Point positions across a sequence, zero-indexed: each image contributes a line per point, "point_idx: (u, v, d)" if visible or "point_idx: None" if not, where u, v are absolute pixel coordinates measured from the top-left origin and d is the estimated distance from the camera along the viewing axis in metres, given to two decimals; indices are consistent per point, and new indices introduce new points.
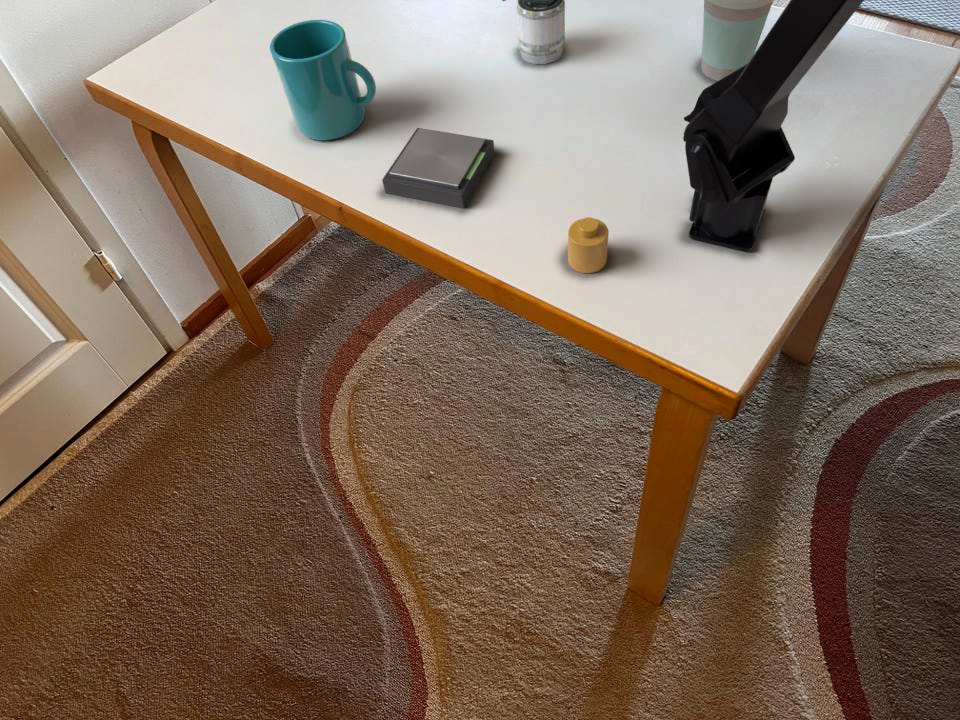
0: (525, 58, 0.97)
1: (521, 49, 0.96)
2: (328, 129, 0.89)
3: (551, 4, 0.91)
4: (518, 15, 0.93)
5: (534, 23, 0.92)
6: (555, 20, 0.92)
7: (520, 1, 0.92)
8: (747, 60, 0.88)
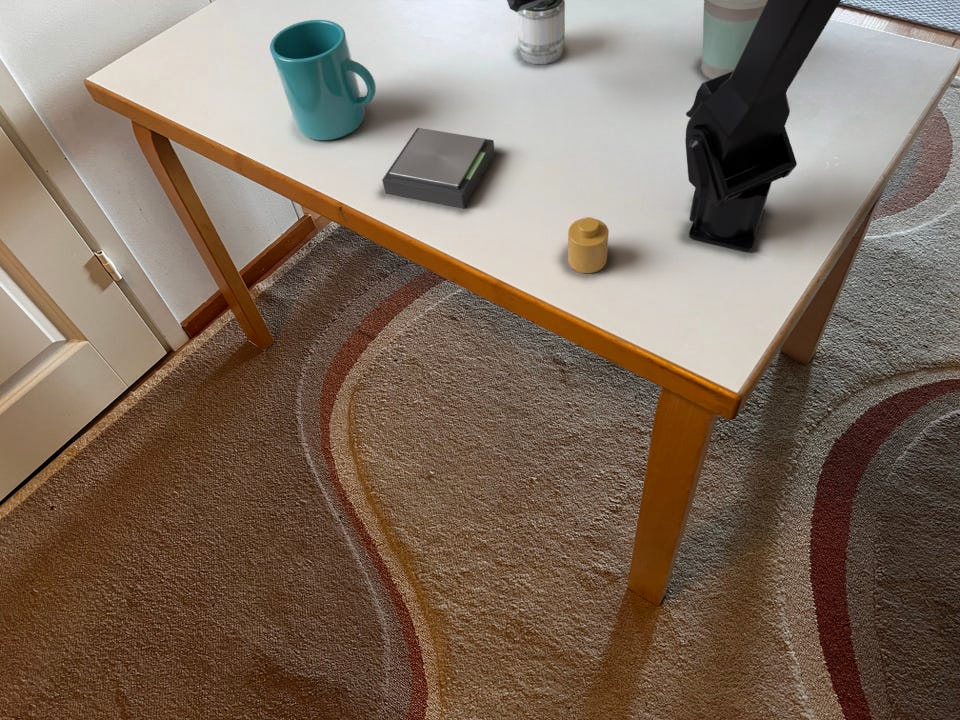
0: (525, 58, 0.97)
1: (521, 49, 0.96)
2: (328, 129, 0.89)
3: (551, 4, 0.91)
4: (518, 15, 0.93)
5: (534, 23, 0.92)
6: (555, 20, 0.92)
7: None
8: None
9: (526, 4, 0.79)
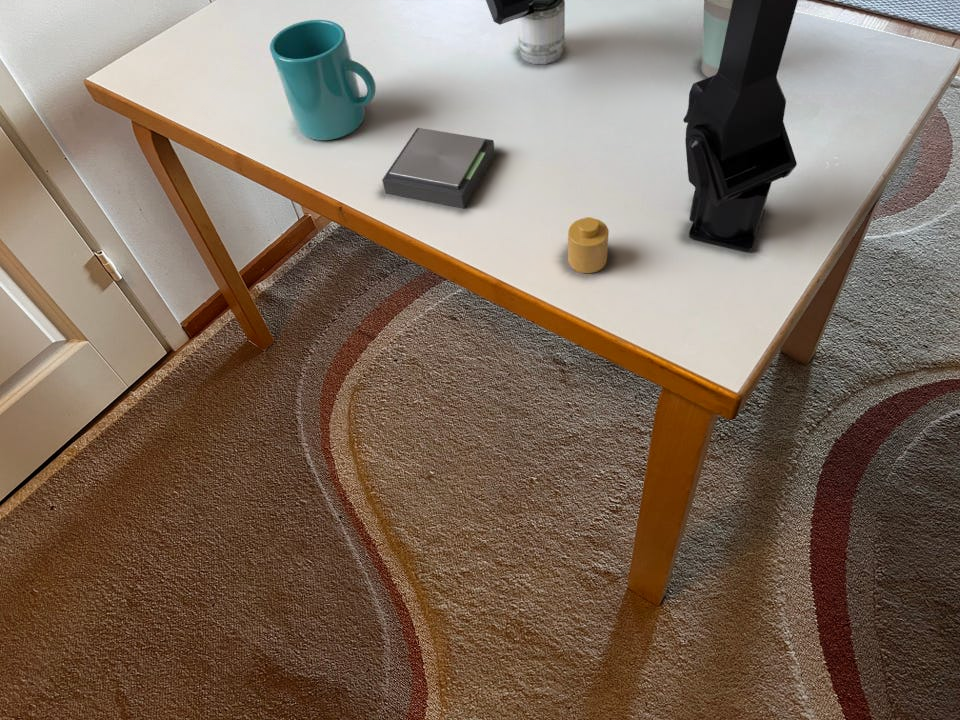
0: (525, 58, 0.97)
1: (521, 49, 0.96)
2: (328, 129, 0.89)
3: (551, 4, 0.91)
4: None
5: (534, 23, 0.92)
6: (555, 20, 0.92)
7: None
8: None
9: (509, 18, 0.84)
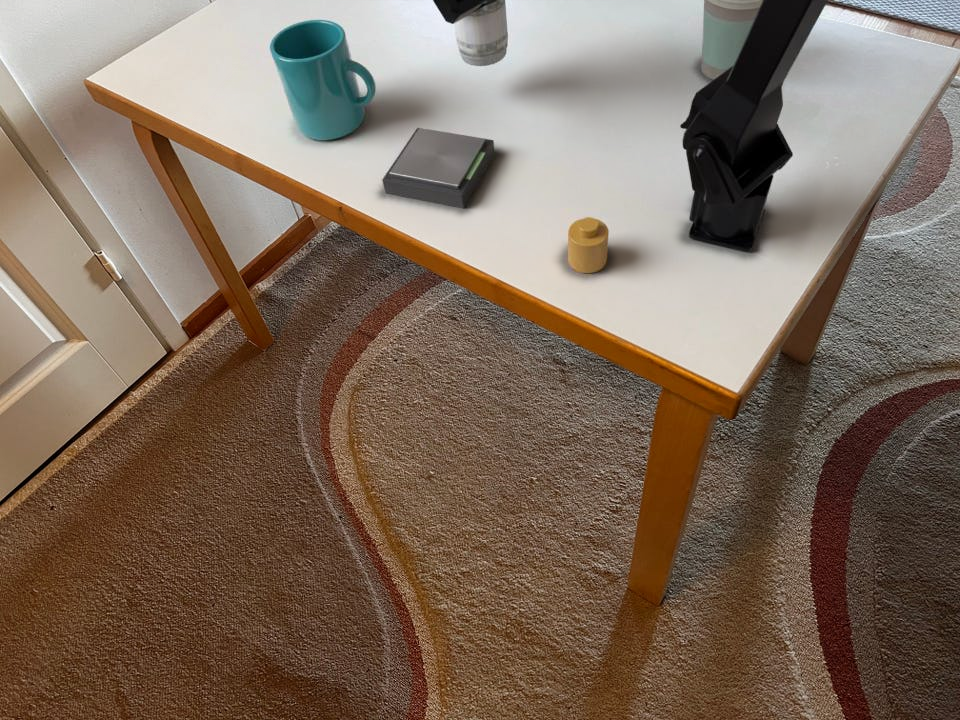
0: (469, 61, 0.87)
1: (464, 52, 0.86)
2: (328, 129, 0.89)
3: None
4: None
5: (478, 20, 0.82)
6: (499, 13, 0.83)
7: None
8: None
9: (463, 14, 0.74)
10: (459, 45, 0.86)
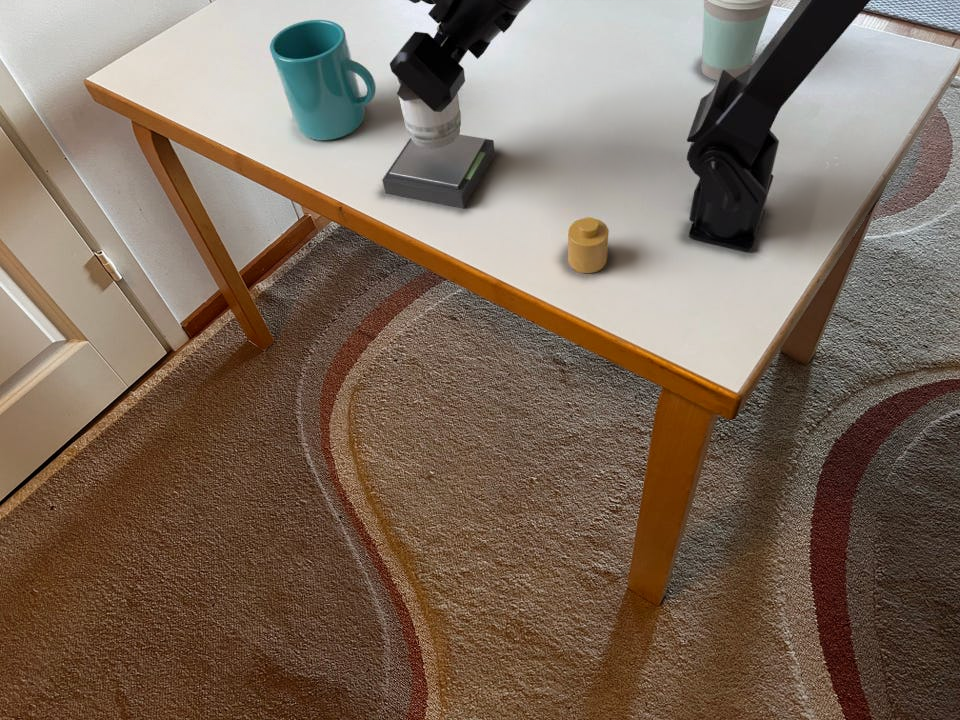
0: (429, 145, 0.79)
1: (422, 138, 0.78)
2: (328, 129, 0.89)
3: None
4: (411, 100, 0.74)
5: None
6: None
7: None
8: (747, 60, 0.88)
9: None
10: (414, 131, 0.77)
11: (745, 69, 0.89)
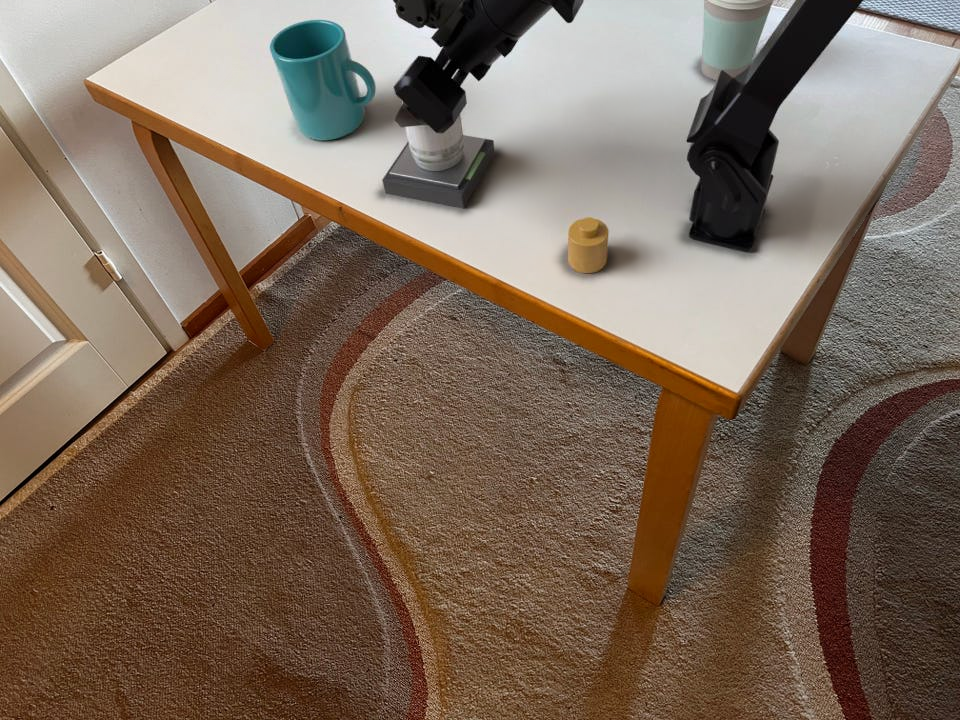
0: (432, 168, 0.81)
1: (426, 161, 0.80)
2: (328, 129, 0.89)
3: None
4: (416, 126, 0.77)
5: None
6: None
7: None
8: (747, 60, 0.88)
9: None
10: (418, 155, 0.80)
11: (745, 69, 0.89)
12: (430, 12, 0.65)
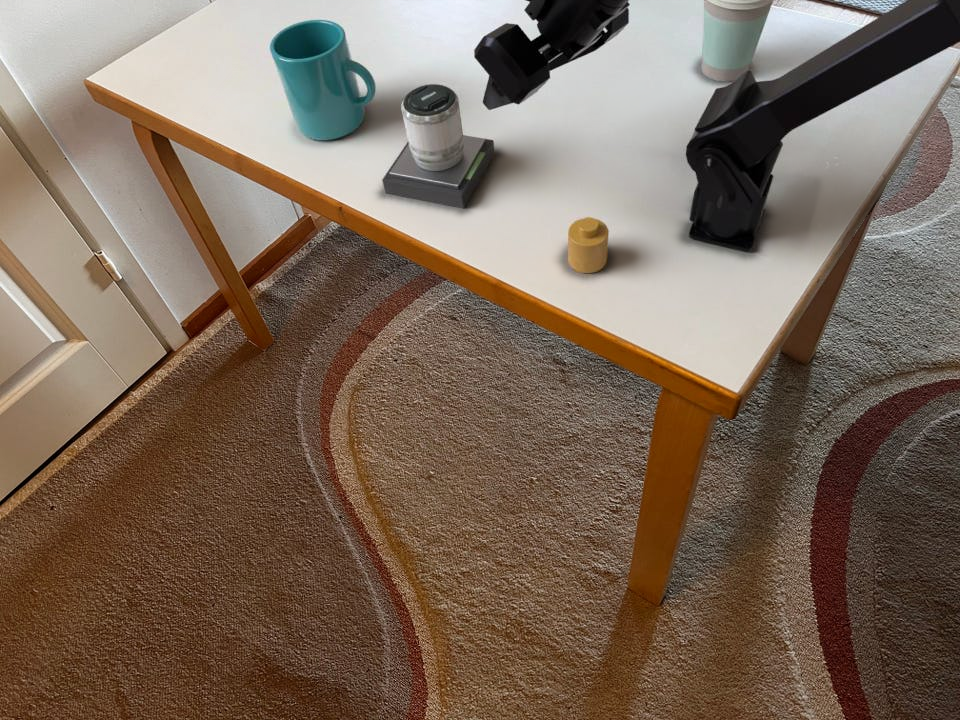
0: (432, 168, 0.81)
1: (426, 161, 0.80)
2: (328, 129, 0.89)
3: (448, 99, 0.77)
4: (416, 126, 0.77)
5: (442, 126, 0.76)
6: (458, 113, 0.78)
7: (412, 110, 0.76)
8: (747, 60, 0.88)
9: (532, 91, 0.64)
10: (418, 155, 0.80)
11: (745, 69, 0.89)
12: None
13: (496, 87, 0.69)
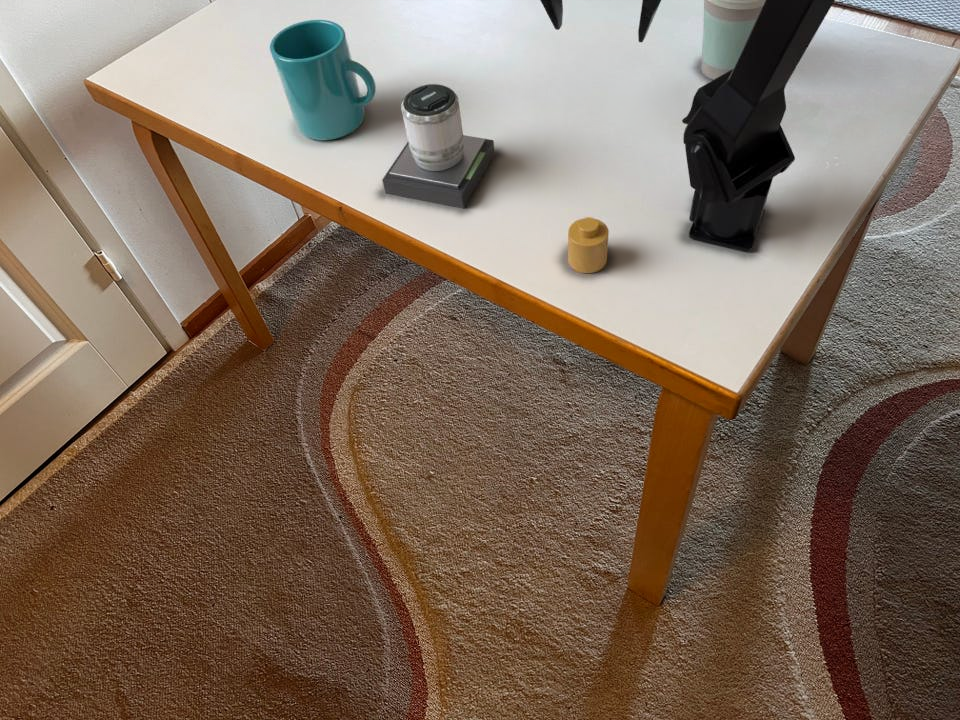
0: (432, 168, 0.81)
1: (426, 161, 0.80)
2: (328, 129, 0.89)
3: (448, 99, 0.77)
4: (416, 126, 0.77)
5: (442, 126, 0.76)
6: (458, 113, 0.78)
7: (412, 110, 0.76)
8: None
9: None
10: (418, 155, 0.80)
11: None
12: None
13: None
